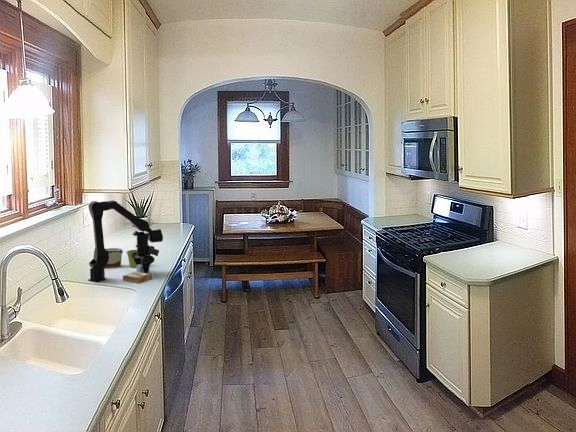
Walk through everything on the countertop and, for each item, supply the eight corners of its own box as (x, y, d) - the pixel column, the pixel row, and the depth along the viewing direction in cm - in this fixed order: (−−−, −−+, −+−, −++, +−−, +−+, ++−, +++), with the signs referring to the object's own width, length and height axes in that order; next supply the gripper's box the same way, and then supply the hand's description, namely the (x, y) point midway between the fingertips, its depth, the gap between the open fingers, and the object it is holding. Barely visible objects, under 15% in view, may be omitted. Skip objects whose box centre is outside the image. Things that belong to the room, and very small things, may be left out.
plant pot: (125, 268, 281) (125, 253, 280) (127, 264, 290) (127, 249, 289) (143, 268, 283) (142, 252, 282) (144, 264, 292) (144, 249, 291)
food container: (122, 264, 290) (121, 247, 289) (123, 266, 285) (123, 249, 284) (99, 266, 285) (98, 248, 284) (100, 268, 280) (99, 250, 278)
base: (138, 283, 252) (138, 278, 251) (122, 280, 256) (122, 275, 255) (151, 278, 261) (151, 273, 260) (136, 276, 265) (136, 271, 264)
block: (149, 274, 269) (149, 265, 268) (140, 276, 266) (139, 266, 265) (146, 272, 273) (145, 263, 272) (136, 274, 270) (136, 264, 269)
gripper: (163, 244, 264) (164, 274, 266) (151, 239, 279) (151, 267, 281) (142, 247, 258) (143, 277, 260) (130, 241, 273) (131, 269, 275)
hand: (143, 272), depth 269 cm, fingers open, 9 cm apart
